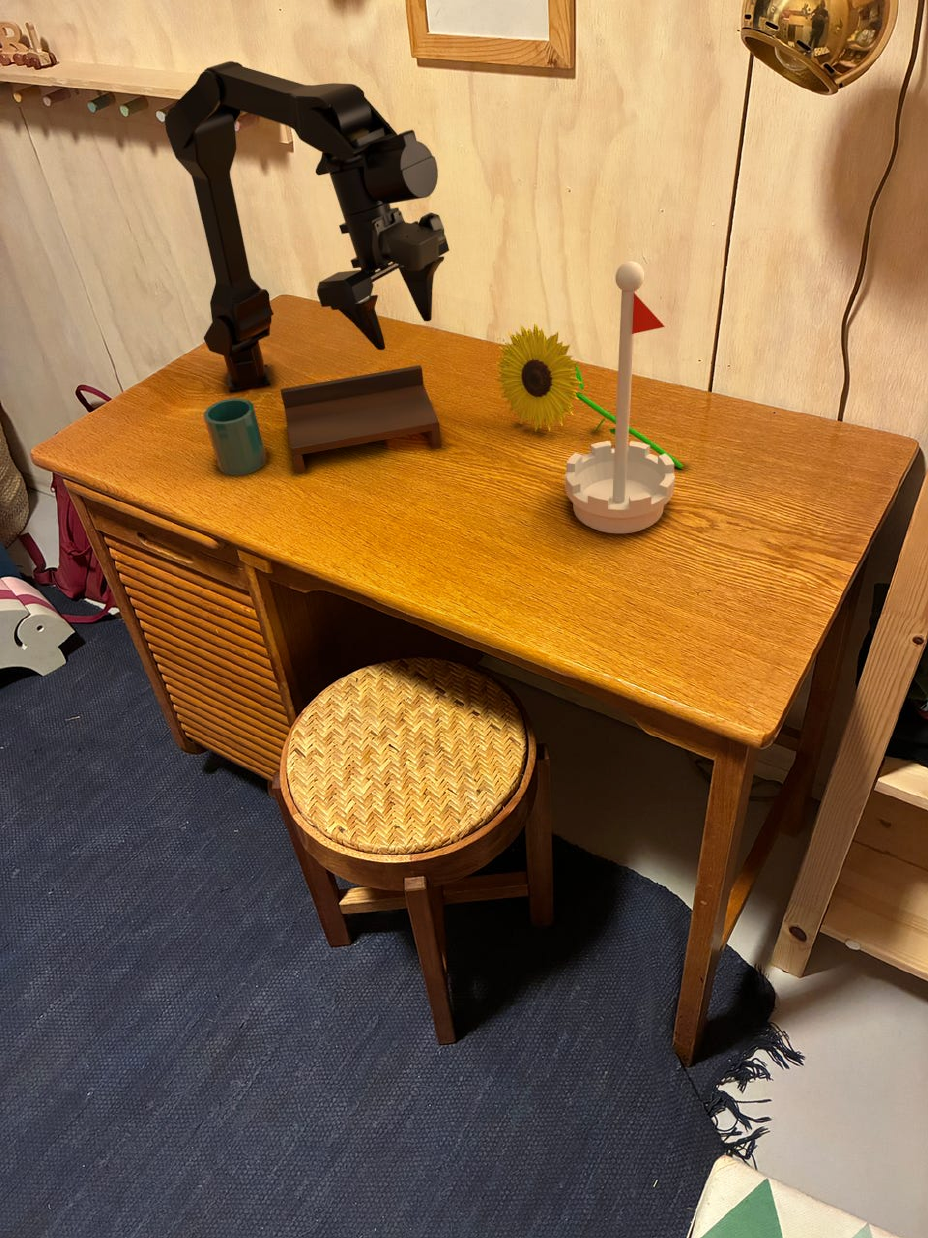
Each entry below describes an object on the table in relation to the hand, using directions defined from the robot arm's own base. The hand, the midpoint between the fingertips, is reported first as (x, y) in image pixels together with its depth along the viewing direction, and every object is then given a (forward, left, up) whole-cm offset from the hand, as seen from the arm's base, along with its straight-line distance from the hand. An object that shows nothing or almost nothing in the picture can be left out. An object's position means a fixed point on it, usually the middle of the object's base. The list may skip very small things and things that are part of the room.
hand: (405, 334), depth 117 cm
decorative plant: (+8, +22, -16) cm, 28 cm away
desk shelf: (-3, -7, -15) cm, 17 cm away
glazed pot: (-2, -24, -15) cm, 29 cm away
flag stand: (+24, +21, -16) cm, 35 cm away
